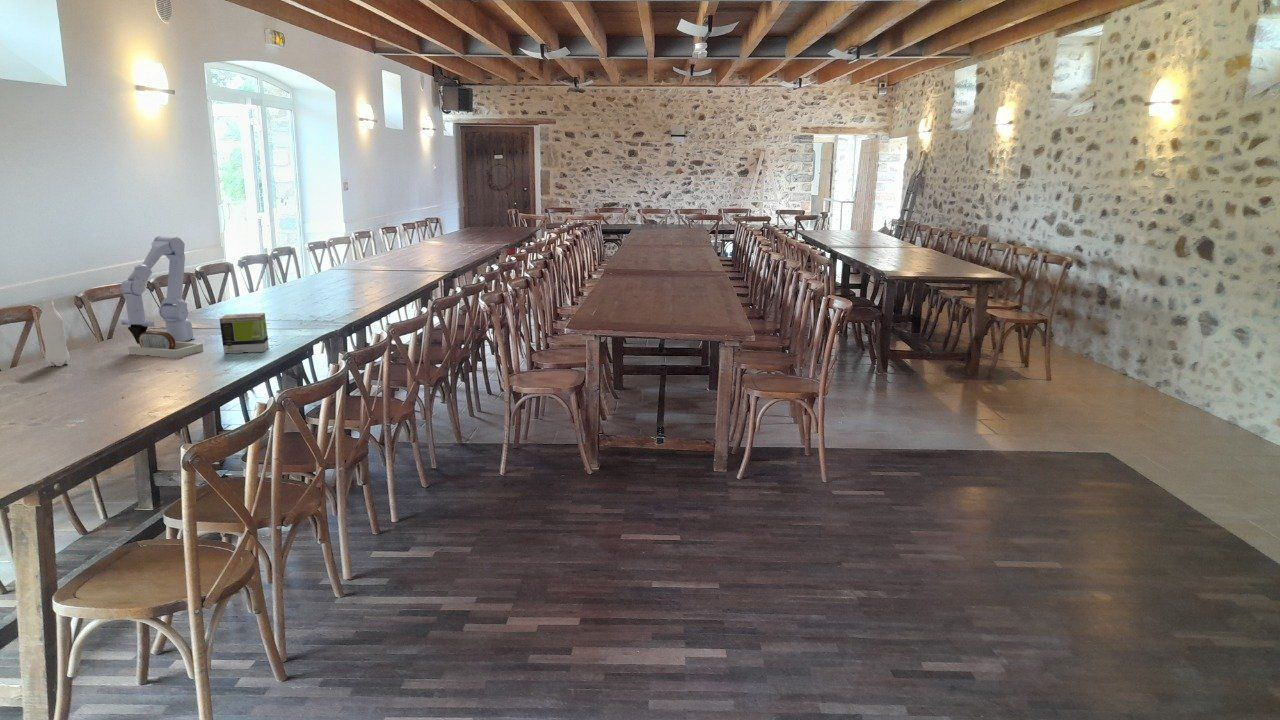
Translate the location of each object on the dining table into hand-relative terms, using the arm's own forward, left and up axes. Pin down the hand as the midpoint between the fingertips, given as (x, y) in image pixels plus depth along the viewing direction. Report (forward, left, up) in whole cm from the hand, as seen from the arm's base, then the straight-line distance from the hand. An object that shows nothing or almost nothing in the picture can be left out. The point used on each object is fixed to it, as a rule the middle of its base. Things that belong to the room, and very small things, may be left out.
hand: (140, 343), depth 307 cm
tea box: (-12, +40, -3) cm, 42 cm away
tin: (+1, +9, -3) cm, 9 cm away
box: (0, +12, -3) cm, 12 cm away
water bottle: (+28, -8, -3) cm, 29 cm away
